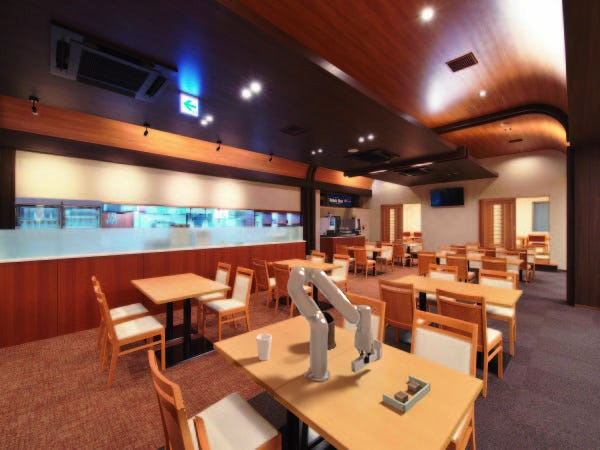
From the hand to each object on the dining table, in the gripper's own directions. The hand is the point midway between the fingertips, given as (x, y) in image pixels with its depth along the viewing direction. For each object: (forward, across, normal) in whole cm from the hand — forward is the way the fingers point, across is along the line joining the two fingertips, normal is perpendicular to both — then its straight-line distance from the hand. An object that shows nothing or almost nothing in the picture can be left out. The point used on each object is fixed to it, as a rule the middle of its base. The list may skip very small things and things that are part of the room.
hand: (364, 361), depth 149 cm
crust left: (+7, +25, -6) cm, 26 cm away
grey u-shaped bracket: (+8, +25, 0) cm, 26 cm away
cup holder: (+6, -38, +6) cm, 39 cm away
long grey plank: (+2, 0, 0) cm, 2 cm away
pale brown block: (+7, -7, +22) cm, 24 cm away
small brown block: (+7, +25, +6) cm, 26 cm away
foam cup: (+6, -50, -32) cm, 60 cm away
